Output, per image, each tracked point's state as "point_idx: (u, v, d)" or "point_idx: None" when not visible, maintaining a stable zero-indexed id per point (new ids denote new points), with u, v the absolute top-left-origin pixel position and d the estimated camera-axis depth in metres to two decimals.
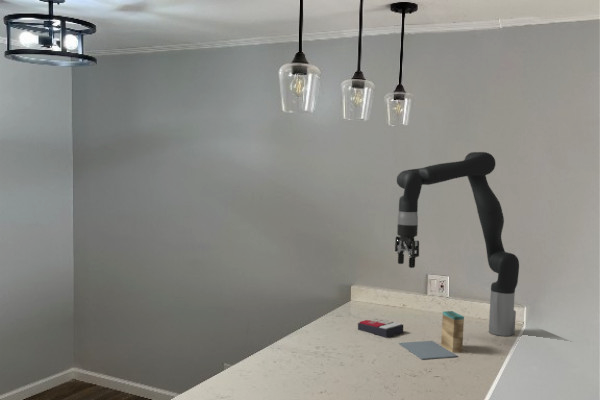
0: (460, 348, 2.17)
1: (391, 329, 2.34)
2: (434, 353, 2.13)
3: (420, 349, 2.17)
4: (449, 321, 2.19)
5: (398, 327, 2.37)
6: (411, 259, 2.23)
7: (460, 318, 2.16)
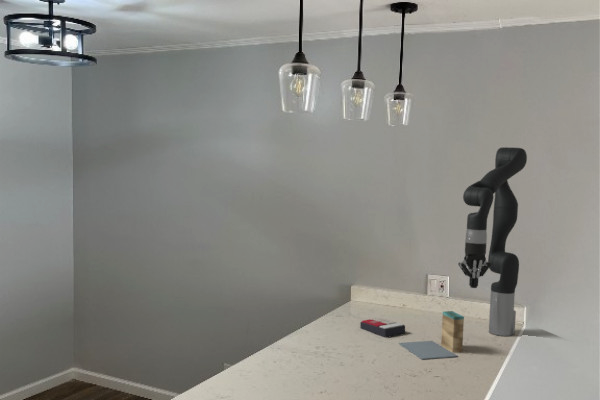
0: (460, 348, 2.17)
1: (391, 329, 2.34)
2: (434, 353, 2.13)
3: (420, 349, 2.17)
4: (449, 321, 2.19)
5: (399, 327, 2.36)
6: (477, 279, 2.21)
7: (460, 318, 2.16)
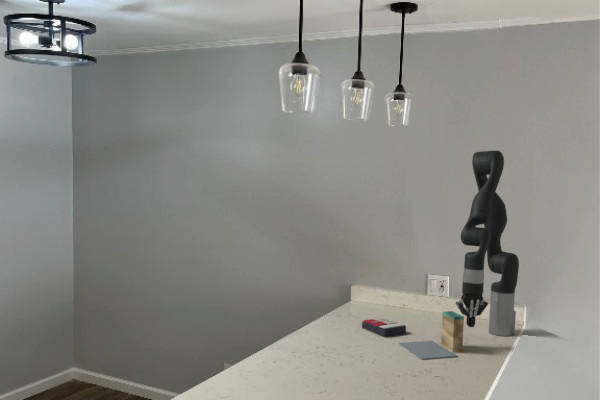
0: (460, 348, 2.17)
1: (390, 329, 2.34)
2: (434, 353, 2.13)
3: (420, 349, 2.17)
4: (449, 321, 2.19)
5: (399, 328, 2.36)
6: (474, 318, 2.22)
7: (460, 318, 2.16)
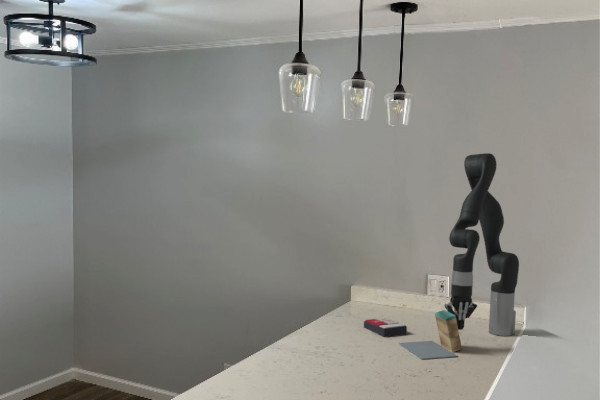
0: (459, 346, 2.17)
1: (390, 329, 2.34)
2: (434, 353, 2.13)
3: (420, 349, 2.17)
4: (442, 322, 2.18)
5: (399, 328, 2.36)
6: (463, 321, 2.20)
7: (452, 318, 2.15)
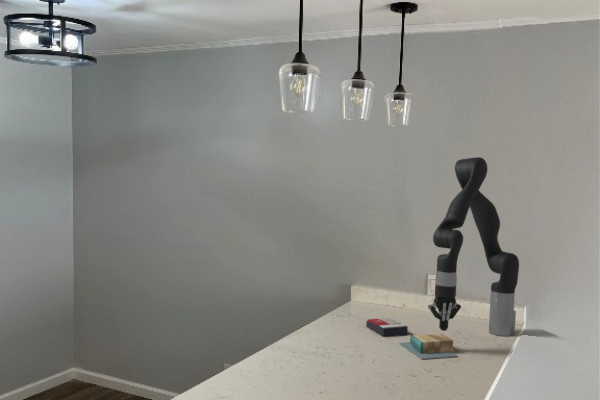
0: (450, 342, 2.16)
1: (390, 329, 2.34)
2: (434, 353, 2.13)
3: None
4: None
5: (400, 328, 2.35)
6: (447, 321, 2.19)
7: (422, 346, 2.13)
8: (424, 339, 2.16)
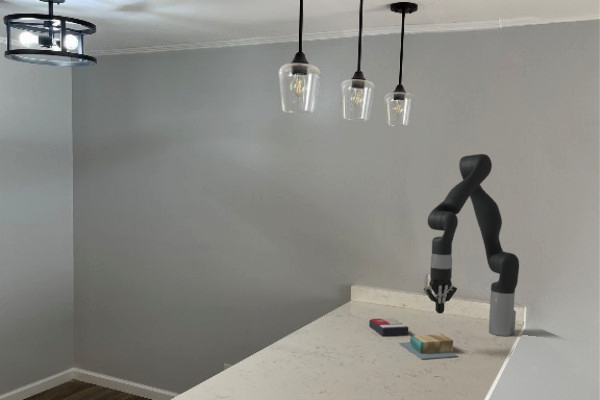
0: (450, 342, 2.16)
1: (389, 329, 2.34)
2: (434, 353, 2.13)
3: None
4: None
5: (400, 328, 2.35)
6: (443, 304, 2.17)
7: (422, 346, 2.13)
8: (424, 339, 2.16)
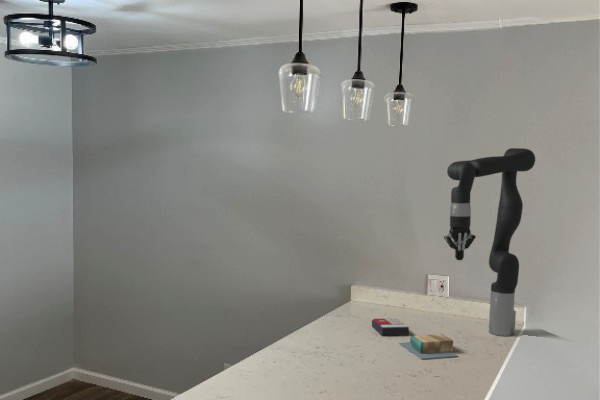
0: (450, 342, 2.16)
1: (389, 329, 2.34)
2: (434, 353, 2.13)
3: None
4: None
5: (400, 329, 2.35)
6: (463, 251, 2.27)
7: (422, 346, 2.13)
8: (424, 339, 2.16)
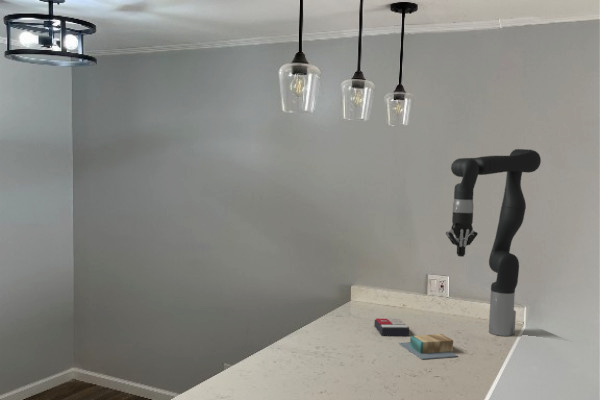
0: (450, 342, 2.16)
1: (389, 329, 2.34)
2: (434, 353, 2.13)
3: None
4: None
5: (400, 329, 2.34)
6: (464, 248, 2.28)
7: (422, 346, 2.13)
8: (424, 339, 2.16)
